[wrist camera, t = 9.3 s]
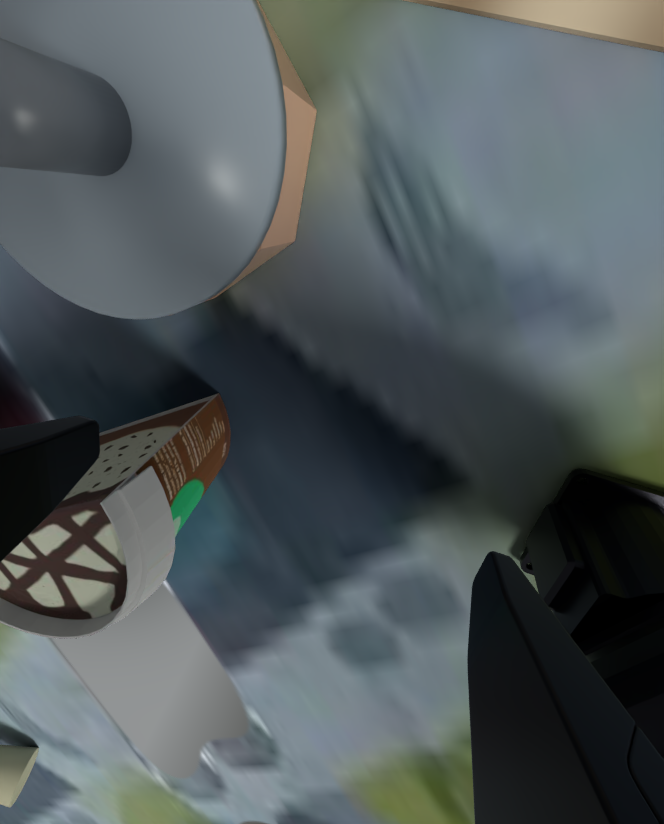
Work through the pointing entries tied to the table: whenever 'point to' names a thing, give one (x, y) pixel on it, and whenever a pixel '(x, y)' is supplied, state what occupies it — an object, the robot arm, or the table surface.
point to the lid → (138, 147)
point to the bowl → (287, 161)
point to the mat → (576, 17)
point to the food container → (115, 524)
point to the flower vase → (14, 771)
